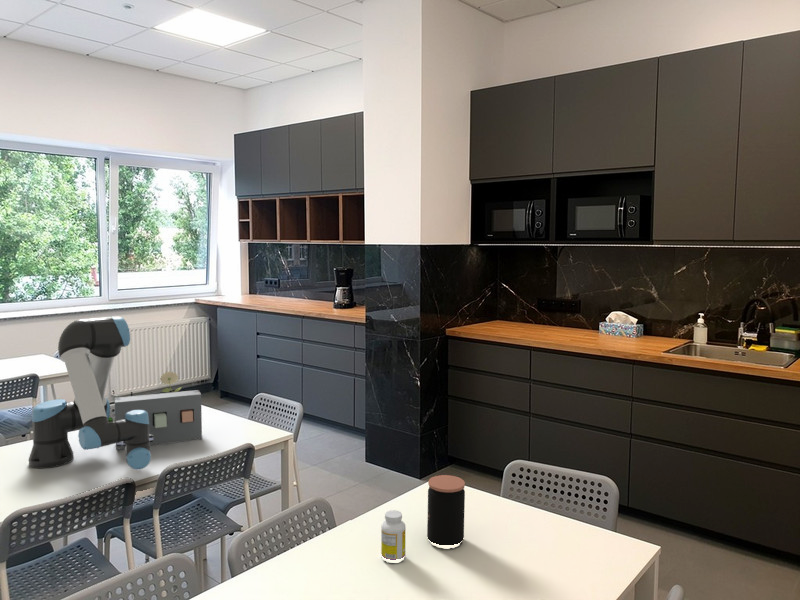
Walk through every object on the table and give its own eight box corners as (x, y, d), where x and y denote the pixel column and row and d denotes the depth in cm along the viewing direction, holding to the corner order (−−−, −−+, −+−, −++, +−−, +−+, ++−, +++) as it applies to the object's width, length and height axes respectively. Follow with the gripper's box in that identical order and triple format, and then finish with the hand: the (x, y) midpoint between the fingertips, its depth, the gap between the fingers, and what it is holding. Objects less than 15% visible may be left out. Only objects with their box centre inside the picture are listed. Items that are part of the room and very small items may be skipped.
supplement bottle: (398, 550, 169) (398, 506, 168) (409, 561, 163) (410, 516, 162) (377, 555, 166) (377, 511, 165) (387, 567, 160) (388, 521, 159)
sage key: (155, 427, 248) (155, 417, 248) (154, 423, 254) (153, 413, 254) (166, 426, 250) (166, 416, 250) (165, 422, 256) (164, 412, 256)
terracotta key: (182, 422, 256) (182, 412, 256) (180, 418, 262) (180, 408, 262) (193, 421, 258) (192, 411, 258) (190, 417, 264) (190, 407, 264)
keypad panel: (116, 449, 247) (114, 402, 245) (115, 443, 254) (114, 397, 252) (201, 438, 262) (201, 394, 260) (199, 433, 269) (198, 390, 267)
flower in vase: (192, 419, 290) (191, 368, 288) (185, 426, 279) (184, 374, 277) (165, 419, 290) (163, 368, 287) (157, 426, 278) (155, 374, 276)
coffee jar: (441, 529, 182) (442, 472, 180) (470, 540, 175) (472, 481, 173) (419, 542, 174) (420, 482, 172) (450, 554, 167) (451, 492, 165)
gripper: (117, 459, 216) (115, 440, 237) (156, 454, 222) (150, 435, 242) (116, 439, 215) (114, 421, 236) (155, 434, 221) (150, 417, 242)
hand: (132, 428), depth 239 cm, fingers closed
